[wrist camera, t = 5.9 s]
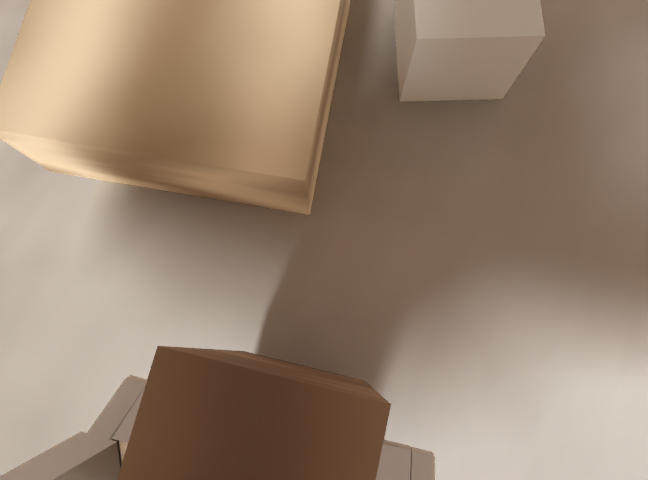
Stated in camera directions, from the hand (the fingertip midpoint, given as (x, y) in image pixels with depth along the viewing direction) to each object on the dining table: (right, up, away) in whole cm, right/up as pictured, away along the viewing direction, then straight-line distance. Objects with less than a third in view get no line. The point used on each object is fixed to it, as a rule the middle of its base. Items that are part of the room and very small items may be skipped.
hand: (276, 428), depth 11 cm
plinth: (-3, +11, +9) cm, 14 cm away
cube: (+6, +12, +8) cm, 16 cm away
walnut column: (0, -2, +4) cm, 4 cm away
